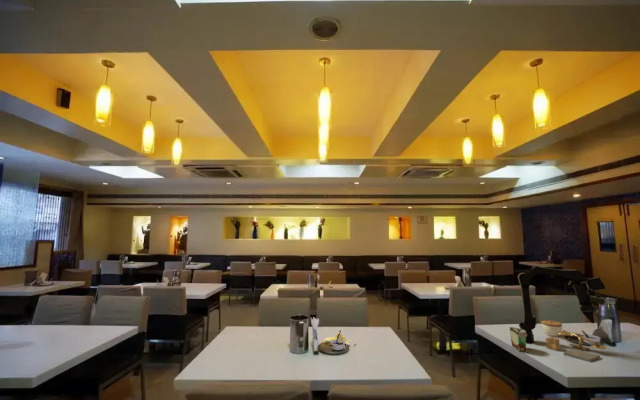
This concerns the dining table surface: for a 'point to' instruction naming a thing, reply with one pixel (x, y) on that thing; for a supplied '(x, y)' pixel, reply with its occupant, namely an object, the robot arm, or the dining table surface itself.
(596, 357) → the grey stone square slab
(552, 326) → the lidded jar
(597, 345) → the brass balance
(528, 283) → the robot arm
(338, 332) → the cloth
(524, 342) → the food container
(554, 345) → the oak block
